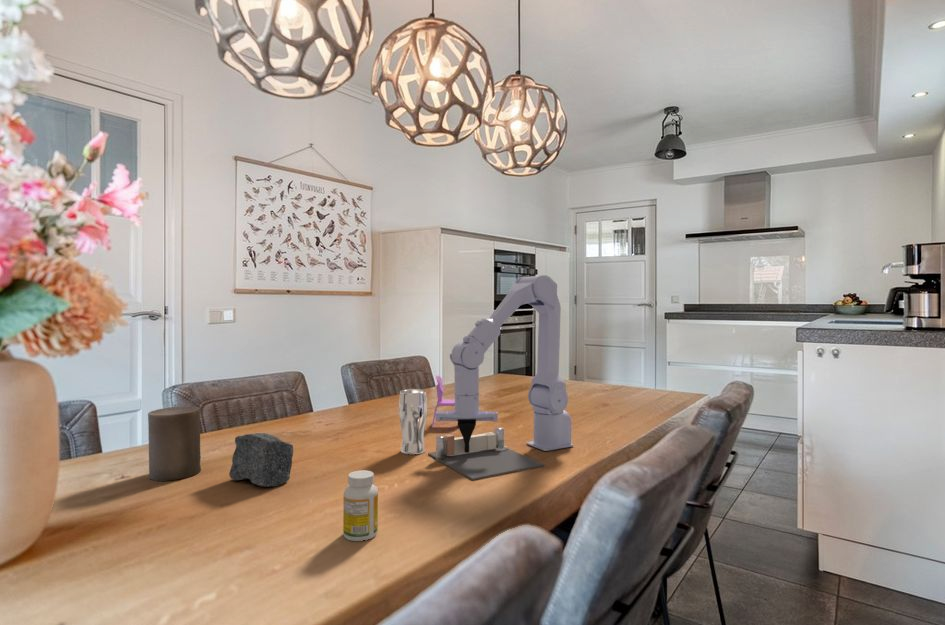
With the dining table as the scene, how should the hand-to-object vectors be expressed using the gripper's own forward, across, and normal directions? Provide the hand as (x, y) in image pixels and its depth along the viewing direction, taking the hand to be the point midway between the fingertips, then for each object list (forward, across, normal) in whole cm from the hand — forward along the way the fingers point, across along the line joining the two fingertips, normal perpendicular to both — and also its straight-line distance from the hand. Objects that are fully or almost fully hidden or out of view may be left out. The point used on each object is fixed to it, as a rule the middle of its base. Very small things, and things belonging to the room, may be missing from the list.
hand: (466, 451), depth 121 cm
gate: (+1, -1, -3) cm, 4 cm away
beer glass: (+2, +14, -6) cm, 15 cm away
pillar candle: (+2, +62, +12) cm, 63 cm away
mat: (+2, -4, 0) cm, 5 cm away
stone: (+2, +42, +16) cm, 45 cm away
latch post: (+2, +6, 0) cm, 6 cm away
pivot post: (+2, -8, -8) cm, 11 cm away
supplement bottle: (+2, +16, +40) cm, 43 cm away
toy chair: (+2, +7, -34) cm, 35 cm away
